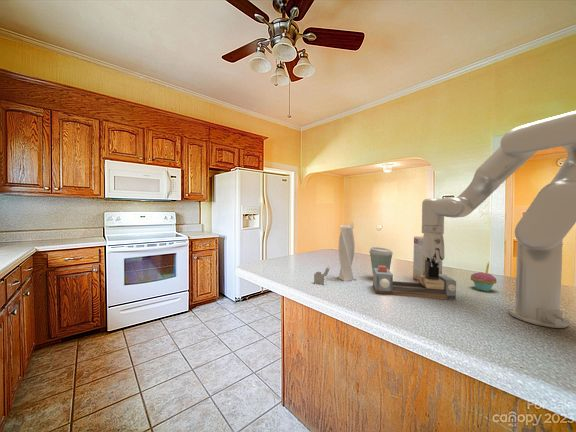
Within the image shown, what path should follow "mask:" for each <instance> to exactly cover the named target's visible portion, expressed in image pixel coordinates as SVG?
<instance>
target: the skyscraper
mask: <svg viewBox="0 0 576 432" xmlns="http://www.w3.org/2000/svg"><path fill="white" fill-rule="evenodd" d="M339 229H340V230H339V231H340V233H339V238H338V257H339V258H338V260H339V264H340V270H339V273H338V276H337V277H336V279H338V278H339V280H340V279H341V281H343V282H345V281H346V282H352V280H354V281H357V280H358V279H356V278H354V274H353V269H352V265H353V261H354V255H355V238H354V230H353V229H354V223H353V222H350V225H349V224H344V225H343V224H341V225H339Z"/></svg>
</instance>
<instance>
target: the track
mask: <svg viewBox="0 0 576 432" xmlns="http://www.w3.org/2000/svg"><path fill="white" fill-rule="evenodd" d="M372 287H373V289H374V292H375V294H376V295H385V296H386V295H388V296H399V297H412V298H413V297H415V298H426V299H427V298H428V299H440V300H452V299H453V297H454V300H453V301H456V300H457V295H456V296H453V297H452V296H451V295H448V299H447V295H446V290H441V289H427V288H426V287H425V286H423V285H422V284H421V283H420V282H410V281H399V280H398V281H396V280H393V291H383V290H376V288H375V286H374V285H373V284H372ZM376 291H377V293H376ZM378 292H379V294H378ZM387 292H388V293H389V294H388V293H387ZM380 293H381V294H380ZM382 293H383V294H382ZM386 293H387V294H386ZM390 293H392V295H390ZM449 296H450V298H449ZM451 297H452V299H451Z"/></svg>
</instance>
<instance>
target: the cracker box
mask: <svg viewBox="0 0 576 432" xmlns="http://www.w3.org/2000/svg"><path fill="white" fill-rule="evenodd" d="M434 259H435V258H434ZM425 260H426V259H425V256H424V255H423V235H422V236H413V262H412V263H413V266H412V268H413V269H412V279H414V280H416V281H417V282H418V283H420V275H423V276H425ZM439 274H443V260H441V259H440V263H439Z"/></svg>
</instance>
